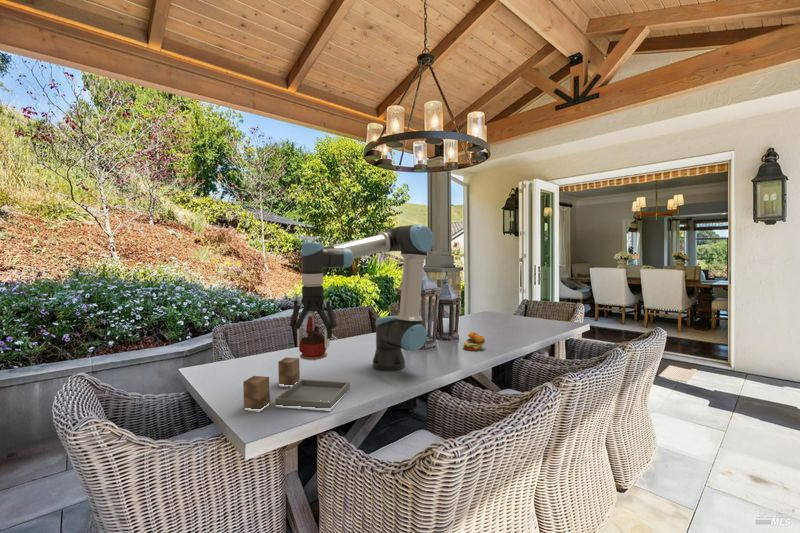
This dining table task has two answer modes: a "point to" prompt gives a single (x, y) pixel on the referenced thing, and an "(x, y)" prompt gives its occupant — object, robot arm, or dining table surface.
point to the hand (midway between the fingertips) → (313, 346)
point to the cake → (312, 342)
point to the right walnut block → (289, 371)
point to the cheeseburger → (474, 342)
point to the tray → (313, 393)
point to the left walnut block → (256, 392)
